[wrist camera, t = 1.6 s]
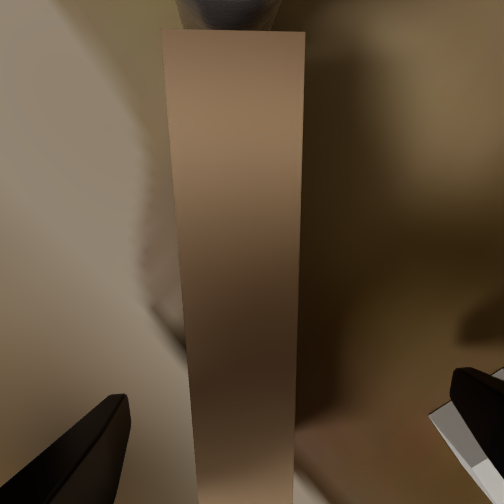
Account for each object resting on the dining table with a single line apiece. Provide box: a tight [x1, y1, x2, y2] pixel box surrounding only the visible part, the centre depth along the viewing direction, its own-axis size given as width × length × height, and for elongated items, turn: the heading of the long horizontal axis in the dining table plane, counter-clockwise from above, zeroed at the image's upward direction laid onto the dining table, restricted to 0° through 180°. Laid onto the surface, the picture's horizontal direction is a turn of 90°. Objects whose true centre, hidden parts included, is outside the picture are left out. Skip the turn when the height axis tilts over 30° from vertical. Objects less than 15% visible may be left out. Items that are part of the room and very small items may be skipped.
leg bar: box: [161, 29, 305, 504], centre depth 8 cm, size 11×2×3 cm, turn 1°
